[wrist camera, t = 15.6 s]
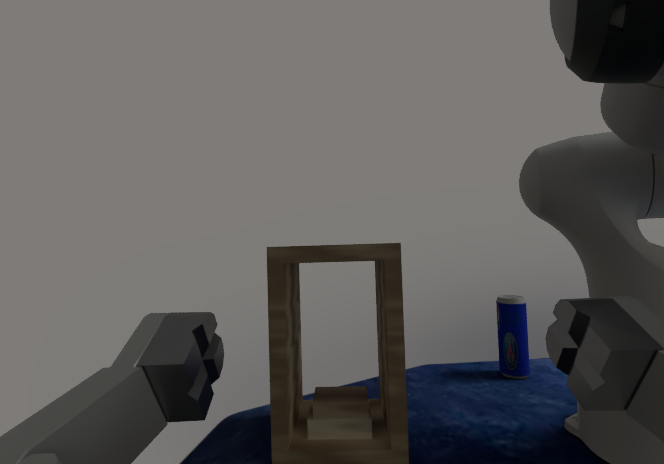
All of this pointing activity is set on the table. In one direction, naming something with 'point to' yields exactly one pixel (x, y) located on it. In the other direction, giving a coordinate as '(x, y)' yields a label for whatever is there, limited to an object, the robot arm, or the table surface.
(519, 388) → the table surface
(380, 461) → the frame
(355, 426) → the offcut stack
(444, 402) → the table surface
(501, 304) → the beverage can
